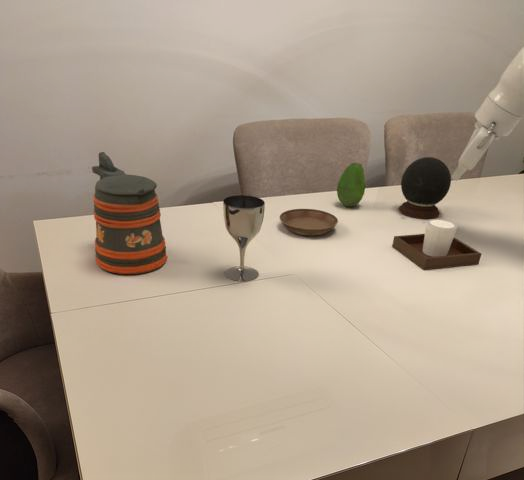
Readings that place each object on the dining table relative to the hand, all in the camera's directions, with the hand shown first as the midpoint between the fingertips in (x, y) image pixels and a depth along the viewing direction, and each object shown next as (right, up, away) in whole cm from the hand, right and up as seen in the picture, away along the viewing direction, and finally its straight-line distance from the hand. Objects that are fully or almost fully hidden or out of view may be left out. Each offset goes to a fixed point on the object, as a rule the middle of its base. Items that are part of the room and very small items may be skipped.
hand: (457, 172), depth 120 cm
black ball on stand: (-2, -3, +23) cm, 23 cm away
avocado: (-22, -1, +25) cm, 33 cm away
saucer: (-35, -12, +8) cm, 38 cm away
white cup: (-7, -20, -3) cm, 21 cm away
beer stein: (-76, -23, -13) cm, 81 cm away
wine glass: (-51, -27, -16) cm, 60 cm away
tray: (-7, -20, -3) cm, 22 cm away
